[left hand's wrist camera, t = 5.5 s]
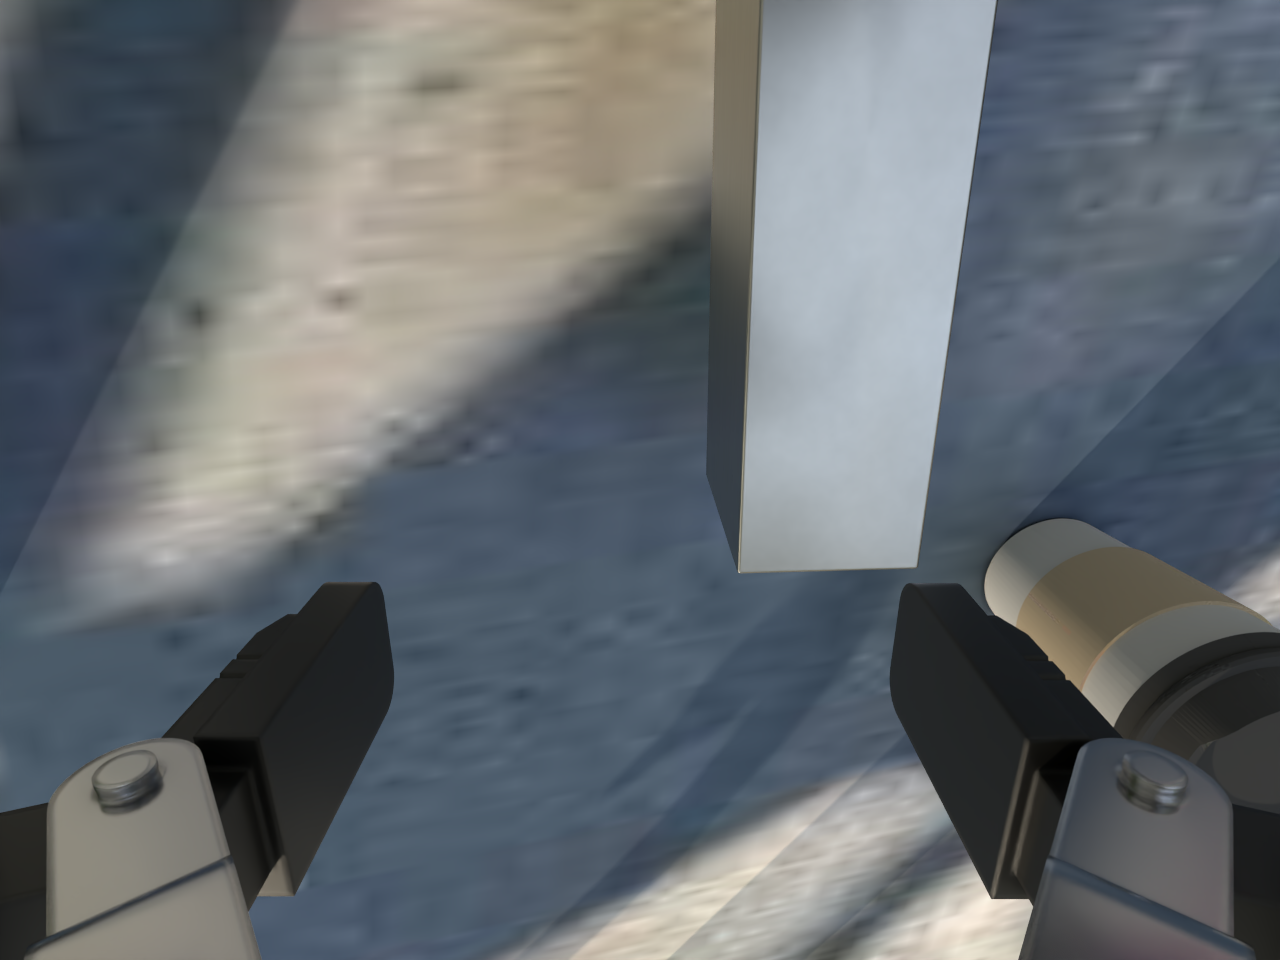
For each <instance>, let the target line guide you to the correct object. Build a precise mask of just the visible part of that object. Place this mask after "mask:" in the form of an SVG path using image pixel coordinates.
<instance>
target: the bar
mask: <svg viewBox="0 0 1280 960" xmlns="http://www.w3.org/2000/svg"><path fill="white" fill-rule="evenodd" d="M997 4H998V0H716V23H715V72H714V121H713V170H712V219H711V267H710V316H709V365H708V414H707V463H706V475H707V478H708V481H709V484H710V487H711V490H712V494H713V497H714V500H715V503H716V506H717V509H718V512H719V515H720V519H721V522H722V525H723V528H724V531H725V534H726V537H727V540H728V544H729V547H730V550H731V553H732V556H733V559H734V562H735V565H736V568H737V571H738V573H765V572H802V571H838V570H875V569H911V568H917V567H918V562H919V555H920V547H921V540H922V533H923V526H924V519H925V512H926V505H927V498H928V491H929V484H930V477H931V470H932V463H933V456H934V449H935V442H936V434H937V427H938V420H939V413H940V406H941V399H942V392H943V385H944V378H945V371H946V364H947V357H948V350H949V343H950V336H951V329H952V322H953V314H954V307H955V300H956V293H957V286H958V279H959V272H960V265H961V258H962V251H963V244H964V237H965V230H966V223H967V216H968V209H969V202H970V194H971V187H972V180H973V173H974V166H975V159H976V152H977V145H978V138H979V131H980V124H981V117H982V110H983V103H984V96H985V89H986V82H987V74H988V67H989V60H990V53H991V46H992V39H993V32H994V25H995V18H996V11H997Z"/></svg>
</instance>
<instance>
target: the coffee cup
mask: <svg viewBox="0 0 1280 960" xmlns="http://www.w3.org/2000/svg"><path fill="white" fill-rule="evenodd" d="M985 596H986V600H987V602H988V605H989V607H990V608H991V610H992V611H993V612H994V614H995V615H996V616H998V617H1000V618H1002V619H1003V620H1005V621H1007V622H1008V623H1010V624H1012V625H1013V626H1015V627H1016V628H1018V629H1020V630H1021V631H1023V632H1025V633H1026V634H1028V635H1029V636H1030V637H1031V638H1032V639H1033V640H1034V642H1035V643H1036V644H1037V645H1038V646H1039V647H1040V648H1041V649H1042V650H1043V651H1044V652H1045V654H1046V655H1047V656H1048V660H1049V661H1053V662H1054V663H1055V664H1056V665H1057V667H1058V668H1059V669H1060V670H1061V671H1062V672H1063V673H1064V674H1065V678H1066V680H1070V681H1071V682H1072V683H1073V684H1074V685H1075V686H1076V687H1077V688H1078V689H1079V690H1080V692H1081V693H1082V694H1083V695H1084V696H1085V697H1086V698H1087V699H1088V700H1089V701H1090V702H1091V704H1092V705H1093V706H1094V707H1095V708H1096V709H1097V710H1098V711H1099V712H1100V713H1101V714H1102V715H1103V717H1104V718H1105V719H1106V720H1107V721H1108V722H1109V723H1110V724H1111V725H1112V726H1113V727H1114V729H1115V730H1116V731H1117V732H1118V733H1119V734H1120V735H1121V736H1122V737H1123V738H1124V739H1131V740H1135V741H1140V742H1144V743H1148V744H1151V745H1154V746H1157V747H1160V748H1162V749H1165V750H1167V751H1170V752H1172V753H1174V754H1176V755H1178V756H1180V757H1182V758H1184V759H1186V760H1188V761H1189V762H1191V763H1193V764H1194V765H1196V766H1197V767H1199V768H1200V769H1202V770H1203V771H1204V772H1206V773H1207V774H1208V775H1209V776H1210V777H1212V778H1213V779H1214V780H1215V781H1216V782H1217V783H1218V784H1219V785H1220V786H1221V787H1222V788H1223V790H1224V791H1225V793H1226V794H1227V795H1228V797H1229V799H1230V801H1231V803H1232V804H1236V805H1240V806H1245V807H1249V808H1254V809H1258V810H1263V811H1268V812H1272V813H1277V814H1280V630H1278V629H1277V628H1275V627H1273V626H1272V625H1271V624H1270V623H1269V622H1268V621H1267V620H1266V619H1265V618H1264V617H1263V616H1261V615H1260V614H1258V613H1257V612H1255V611H1253V610H1251V609H1249V608H1248V607H1246V606H1244V605H1242V604H1240V603H1238V602H1236V601H1235V600H1233V599H1231V598H1229V597H1227V596H1225V595H1224V594H1222V593H1220V592H1218V591H1216V590H1214V589H1213V588H1211V587H1209V586H1207V585H1205V584H1203V583H1202V582H1200V581H1198V580H1196V579H1194V578H1192V577H1191V576H1189V575H1187V574H1185V573H1183V572H1181V571H1179V570H1178V569H1176V568H1174V567H1172V566H1170V565H1168V564H1167V563H1165V562H1163V561H1161V560H1159V559H1157V558H1156V557H1154V556H1152V555H1150V554H1148V553H1146V552H1143V551H1141V550H1137V549H1133V548H1131V547H1129V546H1127V545H1125V544H1124V543H1122V542H1120V541H1118V540H1116V539H1115V538H1113V537H1111V536H1109V535H1107V534H1106V533H1104V532H1102V531H1100V530H1098V529H1097V528H1095V527H1093V526H1091V525H1089V524H1087V523H1085V522H1082V521H1079V520H1074V519H1052V520H1046V521H1043V522H1039V523H1036V524H1034V525H1031V526H1029V527H1027V528H1025V529H1023V530H1022V531H1020V532H1018V533H1017V534H1015V535H1014V536H1013V537H1011V538H1010V539H1009V540H1008V541H1007V542H1006V543H1005V544H1004V545H1003V546H1002V547H1001V548H1000V549H999V550H998V552H997V553H996V554H995V556H994V557H993V559H992V561H991V563H990V565H989V567H988V570H987V573H986V577H985Z"/></svg>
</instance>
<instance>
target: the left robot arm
mask: <svg viewBox="0 0 1280 960" xmlns="http://www.w3.org/2000/svg"><path fill="white" fill-rule="evenodd" d="M393 686H394V668H393V660H392V653H391V646H390V639H389V631H388V624H387V617H386V609H385V602H384V596H383V592H382V589H381V587H380V585H379V584H378V583H376V582H326V583H324V584H323V585H322V586H321V587H320V588H319V589H318V591H317V592H316V593H315V594H314V595H313V596H312V598H311V599H310V600H309V601H308V602H307V603H306V605H305V606H304V607H303V608H302V609H301V610H300V612H299V613H298V614H287V615H286V616H284V617H282V618H281V619H279V620H277V621H276V622H274V623H273V624H271V625H269V626H268V627H266V628H264V629H263V630H261V631H259V632H258V633H256V634H255V636H254V637H253V638H252V639H251V640H250V641H249V642H248V643H247V644H246V645H245V647H244V648H243V649H242V650H241V651H240V652H239V653H238V654H237V659H233V660H232V661H231V662H230V663H229V664H228V665H227V666H226V667H225V668H224V670H223V671H222V672H221V673H220V678H215V679H214V681H213V682H212V683H211V684H210V685H209V686H208V687H207V688H206V689H205V690H204V692H203V693H202V694H201V695H200V696H199V697H198V698H197V699H196V700H195V701H194V702H193V704H192V705H191V706H190V707H189V708H188V709H187V710H186V711H185V712H184V713H183V715H182V716H181V717H180V718H179V719H178V720H177V721H176V722H175V723H174V724H173V726H172V727H171V728H170V729H169V730H168V731H167V732H166V733H165V734H164V735H163V737H162V738H157V739H149V740H145V741H140V742H136V743H132V744H129V745H126V746H123V747H120V748H118V749H115V750H113V751H110V752H108V753H106V754H104V755H102V756H100V757H98V758H96V759H94V760H92V761H91V762H89V763H87V764H86V765H84V766H83V767H81V768H80V769H78V770H77V771H76V772H74V773H73V774H72V775H71V776H70V777H68V778H67V779H66V780H65V781H64V782H63V783H62V784H61V785H60V786H59V787H58V788H57V790H56V791H55V793H54V794H53V795H52V797H51V799H50V801H49V803H44V804H39V805H35V806H30V807H26V808H21V809H16V810H12V811H7V812H3V813H0V960H262V959H261V956H260V952H259V949H258V945H257V941H256V938H255V934H254V931H253V927H252V924H251V920H250V917H249V913H248V912H249V910H250V908H251V906H252V904H253V903H254V901H255V899H256V897H257V896H295V894H296V892H297V890H298V888H299V886H300V884H301V882H302V880H303V878H304V876H305V874H306V872H307V870H308V868H309V866H310V864H311V862H312V860H313V858H314V856H315V854H316V852H317V850H318V848H319V846H320V844H321V842H322V840H323V838H324V836H325V834H326V832H327V830H328V828H329V826H330V824H331V822H332V821H333V819H334V817H335V815H336V813H337V811H338V809H339V807H340V805H341V803H342V801H343V799H344V797H345V795H346V793H347V791H348V789H349V787H350V785H351V783H352V781H353V779H354V777H355V775H356V773H357V771H358V769H359V767H360V765H361V763H362V761H363V759H364V757H365V755H366V753H367V751H368V749H369V747H370V745H371V743H372V741H373V739H374V737H375V735H376V734H377V732H378V730H379V728H380V726H381V724H382V722H383V720H384V718H385V716H386V714H387V712H388V709H389V706H390V703H391V699H392V694H393ZM890 690H891V697H892V702H893V705H894V708H895V711H896V713H897V715H898V717H899V719H900V721H901V723H902V725H903V727H904V729H905V731H906V733H907V735H908V737H909V739H910V741H911V743H912V745H913V747H914V749H915V751H916V753H917V755H918V756H919V758H920V760H921V762H922V764H923V766H924V768H925V770H926V772H927V774H928V776H929V778H930V780H931V782H932V784H933V786H934V788H935V790H936V792H937V794H938V796H939V798H940V799H941V801H942V803H943V805H944V807H945V809H946V811H947V813H948V815H949V817H950V819H951V821H952V823H953V825H954V827H955V829H956V831H957V833H958V835H959V837H960V839H961V840H962V842H963V844H964V846H965V848H966V850H967V852H968V854H969V856H970V858H971V860H972V862H973V864H974V866H975V868H976V870H977V872H978V874H979V876H980V878H981V880H982V881H983V883H984V885H985V887H986V889H987V891H988V893H989V895H990V897H991V899H1029V900H1030V902H1031V903H1032V905H1033V910H1032V913H1031V917H1030V920H1029V924H1028V927H1027V931H1026V934H1025V938H1024V941H1023V945H1022V949H1021V952H1020V956H1019V959H1018V960H1280V814H1277V813H1272V812H1268V811H1263V810H1258V809H1254V808H1249V807H1245V806H1240V805H1236V804H1232V803H1231V801H1230V799H1229V797H1228V795H1227V794H1226V793H1225V791H1224V790H1223V788H1222V787H1221V786H1220V785H1219V784H1218V783H1217V782H1216V781H1215V780H1214V779H1213V778H1212V777H1210V776H1209V775H1208V774H1207V773H1206V772H1204V771H1203V770H1202V769H1200V768H1199V767H1197V766H1196V765H1194V764H1193V763H1191V762H1189V761H1188V760H1186V759H1184V758H1182V757H1180V756H1178V755H1176V754H1174V753H1172V752H1170V751H1167V750H1165V749H1162V748H1160V747H1157V746H1154V745H1151V744H1148V743H1144V742H1140V741H1135V740H1131V739H1124V738H1123V737H1122V736H1121V735H1120V734H1119V733H1118V732H1117V731H1116V730H1115V729H1114V727H1113V726H1112V725H1111V724H1110V723H1109V722H1108V721H1107V720H1106V719H1105V718H1104V717H1103V715H1102V714H1101V713H1100V712H1099V711H1098V710H1097V709H1096V708H1095V707H1094V706H1093V705H1092V704H1091V702H1090V701H1089V700H1088V699H1087V698H1086V697H1085V696H1084V695H1083V694H1082V693H1081V692H1080V690H1079V689H1078V688H1077V687H1076V686H1075V685H1074V684H1073V683H1072V682H1071V681H1070V680H1066V678H1065V674H1064V673H1063V672H1062V671H1061V670H1060V669H1059V668H1058V667H1057V665H1056V664H1055V663H1054V662H1053V661H1049V660H1048V656H1047V655H1046V654H1045V652H1044V651H1043V650H1042V649H1041V648H1040V647H1039V646H1038V645H1037V644H1036V643H1035V642H1034V640H1033V639H1032V638H1031V637H1030V636H1029V635H1028V634H1026V633H1025V632H1023V631H1021V630H1020V629H1018V628H1016V627H1015V626H1013V625H1012V624H1010V623H1008V622H1007V621H1005V620H1003V619H1002V618H1000V617H998V616H987V614H986V613H985V612H984V611H983V610H982V609H981V607H980V606H979V605H978V604H977V603H976V602H975V601H974V599H973V598H972V597H971V596H970V595H969V594H968V592H967V591H966V590H965V589H964V588H963V587H962V586H961V585H960V584H957V583H909V584H906V585H905V587H904V588H903V590H902V593H901V597H900V603H899V610H898V617H897V624H896V632H895V639H894V646H893V653H892V660H891V667H890Z"/></svg>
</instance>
